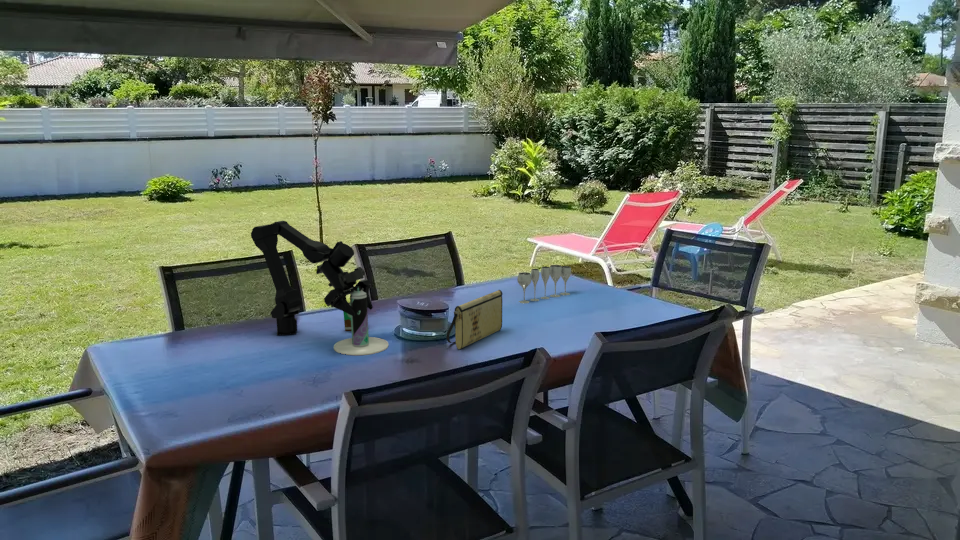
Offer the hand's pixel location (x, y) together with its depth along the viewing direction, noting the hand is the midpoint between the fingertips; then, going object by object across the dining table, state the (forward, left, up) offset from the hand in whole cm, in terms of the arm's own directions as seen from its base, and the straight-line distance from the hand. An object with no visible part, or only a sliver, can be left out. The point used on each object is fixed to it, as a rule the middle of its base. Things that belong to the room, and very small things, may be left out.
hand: (363, 311), depth 240 cm
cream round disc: (-1, +1, -12) cm, 12 cm away
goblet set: (+80, +47, -12) cm, 94 cm away
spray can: (-1, +1, -12) cm, 12 cm away
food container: (0, +23, -12) cm, 26 cm away
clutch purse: (+37, 0, -12) cm, 40 cm away
